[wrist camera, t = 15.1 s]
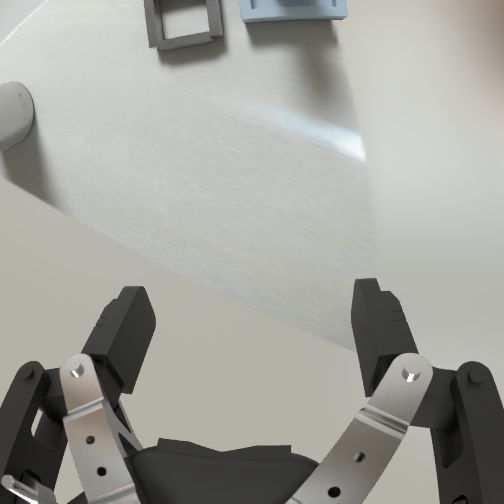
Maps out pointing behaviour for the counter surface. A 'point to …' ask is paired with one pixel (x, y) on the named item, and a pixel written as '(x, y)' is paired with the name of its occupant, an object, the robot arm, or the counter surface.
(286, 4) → the tray
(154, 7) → the grey square holder
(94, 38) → the counter surface
